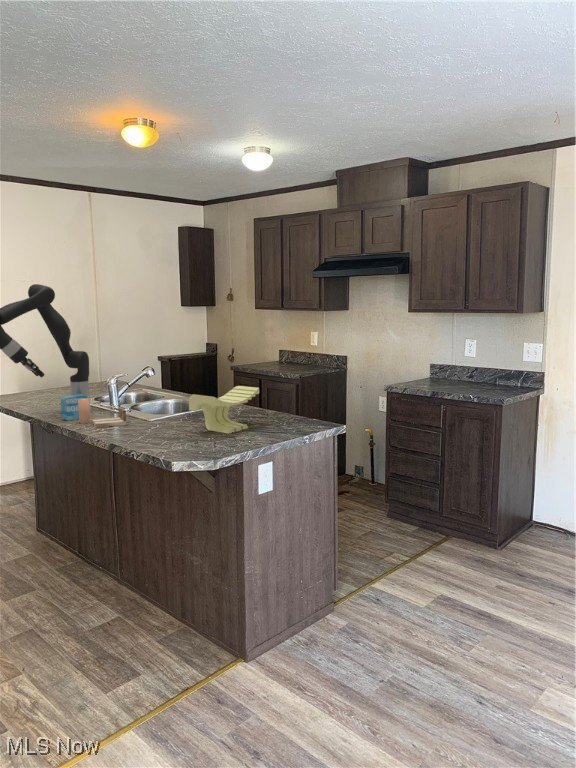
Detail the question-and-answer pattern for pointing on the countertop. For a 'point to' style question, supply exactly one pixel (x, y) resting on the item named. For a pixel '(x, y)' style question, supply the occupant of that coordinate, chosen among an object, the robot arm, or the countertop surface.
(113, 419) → the wooden l-shaped stand
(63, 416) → the data package
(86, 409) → the peach dome-topped cylinder
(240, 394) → the slatted curved stool
